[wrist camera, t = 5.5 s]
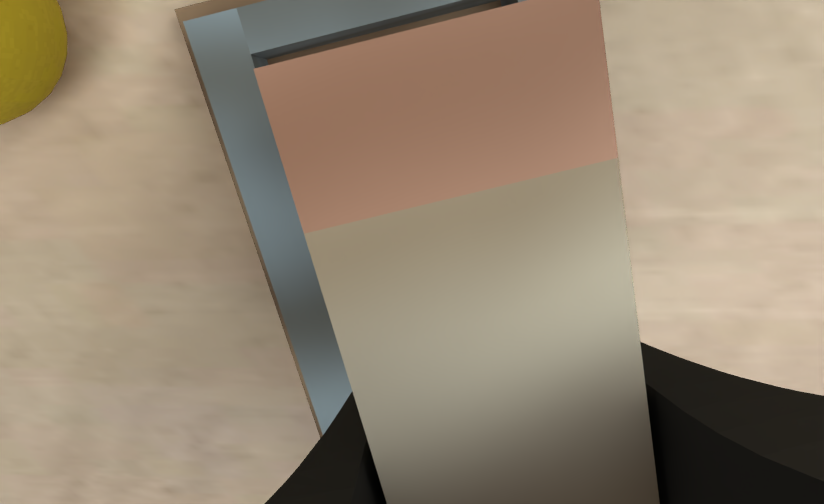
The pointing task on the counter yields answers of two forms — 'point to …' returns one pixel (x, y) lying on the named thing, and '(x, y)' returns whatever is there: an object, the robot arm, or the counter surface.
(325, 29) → the tray
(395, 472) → the two-tone wooden block
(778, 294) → the counter surface
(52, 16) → the lemon
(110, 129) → the counter surface
